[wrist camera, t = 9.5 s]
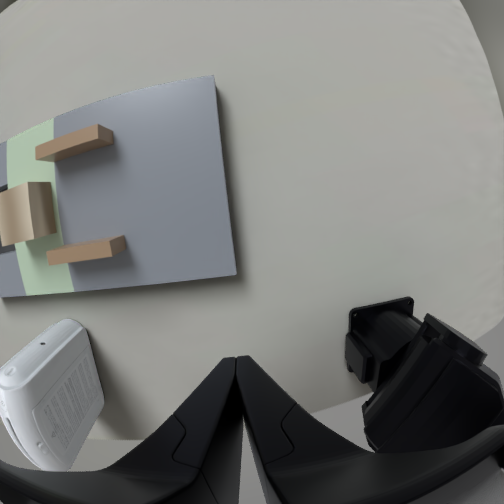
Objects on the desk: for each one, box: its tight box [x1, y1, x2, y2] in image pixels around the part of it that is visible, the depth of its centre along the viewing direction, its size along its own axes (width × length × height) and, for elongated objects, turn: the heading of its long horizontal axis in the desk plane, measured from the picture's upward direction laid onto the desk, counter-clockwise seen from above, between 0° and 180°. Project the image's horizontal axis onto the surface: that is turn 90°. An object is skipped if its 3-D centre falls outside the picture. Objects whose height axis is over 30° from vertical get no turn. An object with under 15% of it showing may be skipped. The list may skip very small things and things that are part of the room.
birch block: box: [0, 182, 57, 247], centre depth 16 cm, size 4×4×3 cm
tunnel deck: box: [0, 75, 237, 297], centre depth 17 cm, size 26×14×4 cm, turn 96°
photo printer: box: [0, 319, 104, 472], centre depth 16 cm, size 10×4×12 cm, turn 179°
